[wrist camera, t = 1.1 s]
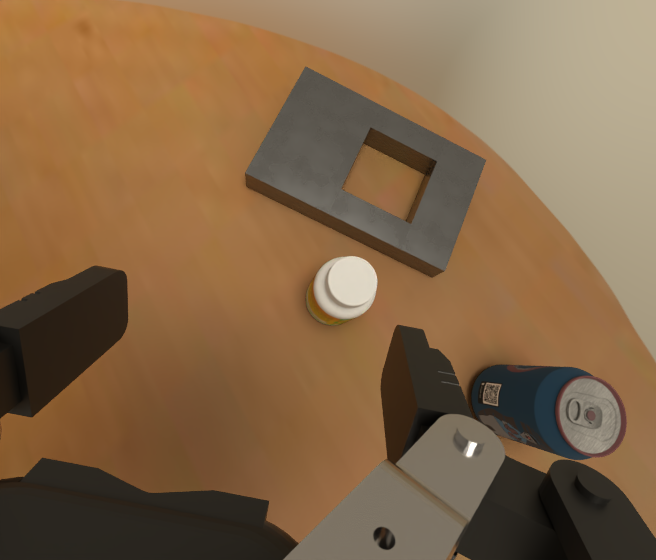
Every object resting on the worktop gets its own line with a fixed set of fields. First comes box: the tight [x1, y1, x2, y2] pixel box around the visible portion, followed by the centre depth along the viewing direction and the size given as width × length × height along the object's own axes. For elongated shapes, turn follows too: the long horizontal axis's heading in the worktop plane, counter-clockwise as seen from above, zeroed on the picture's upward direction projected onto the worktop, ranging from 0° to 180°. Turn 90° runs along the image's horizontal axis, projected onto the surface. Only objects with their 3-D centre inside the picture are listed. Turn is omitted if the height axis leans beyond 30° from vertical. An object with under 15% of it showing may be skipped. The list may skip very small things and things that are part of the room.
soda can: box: [471, 365, 627, 460], centre depth 33 cm, size 7×7×12 cm
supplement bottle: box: [306, 256, 377, 325], centre depth 34 cm, size 5×5×10 cm
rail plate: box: [245, 67, 486, 277], centre depth 40 cm, size 22×14×3 cm, turn 66°
